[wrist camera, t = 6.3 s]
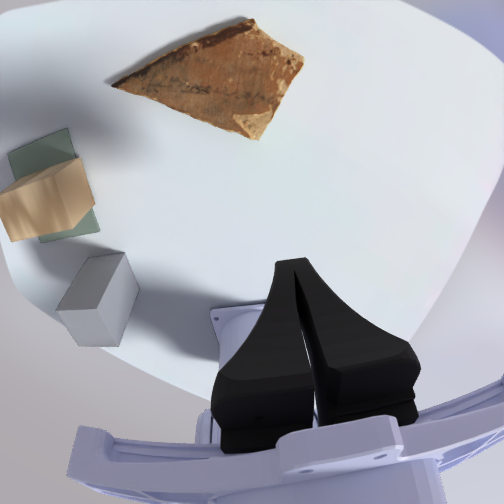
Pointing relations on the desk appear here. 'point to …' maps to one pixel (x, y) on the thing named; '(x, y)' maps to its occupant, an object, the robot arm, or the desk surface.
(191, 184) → the desk surface
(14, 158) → the mat
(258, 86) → the shard
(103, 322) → the grey block
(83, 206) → the oak block
